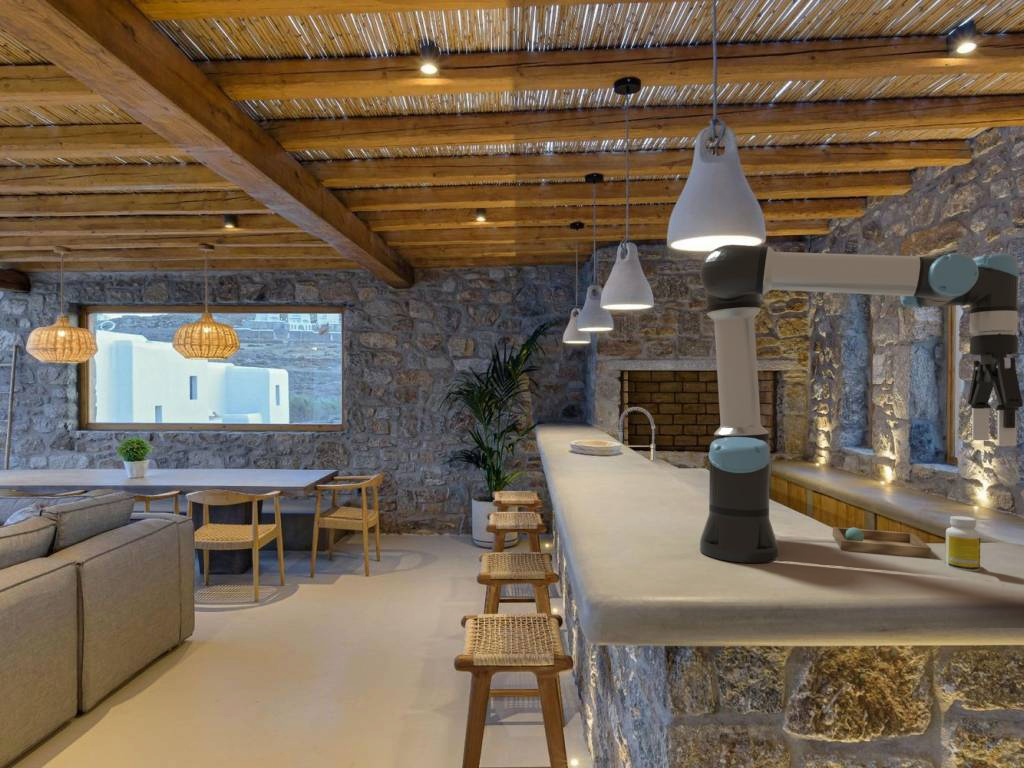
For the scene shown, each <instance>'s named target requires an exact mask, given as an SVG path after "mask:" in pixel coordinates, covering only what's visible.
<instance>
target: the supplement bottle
mask: <svg viewBox="0 0 1024 768" xmlns="http://www.w3.org/2000/svg"><path fill="white" fill-rule="evenodd" d="M949 518H950V520H949V521H950V525H951V527H948V528H946V530H945V555H944V556H945V561H944V562H945V563H944V564H945V566H947V567H949V568H951V569H956V570H960V571H970V572H972V571H974V572H975V571H980V570H981V533H980V532H979V531H978V530H976V529H975V528H976V526H977V519H976V518H974V517H970V516H969V517H968V516H961V515H954V516H952V515H951V516H950V517H949Z"/></svg>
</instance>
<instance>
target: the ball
mask: <svg viewBox="0 0 1024 768" xmlns="http://www.w3.org/2000/svg"><path fill="white" fill-rule="evenodd" d="M848 528H849V529H848V530H847V531H846V538H847V540H851V541H863V539H864V534H863V532H862V531H861V530H860V529H861V528H858V527H854V526H853V527H848Z"/></svg>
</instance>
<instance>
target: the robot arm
mask: <svg viewBox="0 0 1024 768" xmlns="http://www.w3.org/2000/svg"><path fill="white" fill-rule="evenodd" d="M702 261H703V262H702V263H701V266H700V270H699V276H700V281H701V285H702V286H703V289H704V290H705V303H706V304H705V305H706V306H705V307H706V316H707V317H709V319H711V320H712V321H713V323H714V324H713V325H714V337H715V355H716V371H717V372H716V373H717V388H718V404H719V405H718V406H719V419H720V420H719V423H720V426H719V428H717V429H716V431H715V432H713V435H714V436H713V437H714V440H713V441H712V442H711V443H710V445H709V453H708V460H709V487H708V488H709V489H708V490H709V493H708V494H709V497H708V500H709V501H708V503H709V509H708V510H709V512H708V516H707V519H706V522H705V526H704V528H703V531H702V534H701V536H700V540H699V542H700V543H699V551H700V552H701V553H702V554H704V555H705V556H708V557H710V558H714V559H718V560H720V561H721V560H722V561H727V562H733V563H735V562H736V563H747V564H748V563H749V564H750V563H751V564H756V563H757V564H761V563H769V562H773V561H776V560H777V559H776V558H778V556H779V545H778V542H777V539H776V535H775V533H774V529H773V527H772V523H771V520H770V477H771V475H772V469H773V461H772V457H771V450H770V449H771V448H770V435H769V431H768V430H767V429H766V428H765V427H764V426H763V425H762V423H761V405H760V393H759V375H758V359H757V344H756V328H755V327H756V326H755V325H756V324H755V318H756V317H757V315H759V313H760V312H761V295H765V294H767V293H768V292H770V291H772V290H773V291H789V292H790V291H791V292H792V291H793V292H811V293H812V292H813V293H814V292H815V293H835V294H836V293H837V294H853V295H854V294H857V295H859V294H860V295H875V296H876V295H877V296H878V295H879V296H880V295H881V296H899V298H900V300H899V301H900V303H901V305H902V306H903V307H905V308H918V309H922V308H927V307H928V308H930V307H933V308H934V307H950V306H951V307H953V306H954V307H955V306H963V307H964V306H969V333H970V334H973V335H972V336H971V337H970V338H969V354H971V355H973V356H980V360H974V361H973V371H972V377H971V382H970V387H969V388H970V389H969V394H968V399H967V404H968V405H970V407H971V414H972V415H971V440H972V441H989V440H990V409H991V408H992V406H991V404H990V403H989V402H990V397H991V395H992V392H993V390H994V393H995V396H996V401H997V402H998V404H997V405H996V407H995V410H996V411H997V446H1004V447H1006V446H1008V447H1017V445H1018V443H1017V439H1018V438H1017V437H1018V435H1017V432H1018V431H1017V429H1018V428H1017V422H1018V421H1017V419H1018V418H1017V417H1018V416H1017V414H1018V410H1019V408H1022V407H1023V406H1024V405H1023V404H1024V403H1023V398H1022V393H1021V390H1020V389H1021V388H1020V384H1019V380H1018V379H1019V378H1018V374H1017V369H1016V358H1015V357H1008V356H1007V355H1015V354H1017V353H1018V351H1019V348H1018V346H1019V344H1018V343H1019V337H1018V336H1017V334H1015V333H1016V332H1018V326H1019V325H1018V323H1020V321H1021V317H1020V316H1018V314H1019V313H1018V312H1019V311H1018V307H1019V306H1018V298H1019V297H1018V296H1019V279H1020V277H1019V266H1018V259H1017V258H1016V256H1014V255H1013V254H1008V253H994V254H993V253H991V254H988V255H987V254H985V255H984V254H983V255H980V256H976V257H975V256H974V257H973V258H972V257H971V256H968V255H966V254H963V253H957V252H953V253H948V254H943V255H942V256H916V255H914V256H913V255H891V254H889V255H885V254H884V255H882V254H855V253H853V254H852V253H824V252H823V253H822V252H821V253H820V252H819V253H817V252H792V251H791V252H790V251H789V252H787V251H786V252H785V251H775V250H774V249H773V248H772V247H771V246H767V245H766V246H760V245H747V244H745V245H744V244H726V245H721V246H719V247H717V248H715V249H713V250H712V251H710V252H708V254H707V255H706V256H705V257H704V259H703V260H702Z"/></svg>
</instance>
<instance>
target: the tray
mask: <svg viewBox="0 0 1024 768" xmlns="http://www.w3.org/2000/svg"><path fill="white" fill-rule="evenodd" d="M849 528H850V527H834V526H832V537H833V539H834V540H835V543H837V546H838V548H839V549H840V551H844V552H845V551H846V552H847V551H849V552H859V553H872V554H880V555H893V556H894V555H896V556H903V557H904V556H905V557H917V558H927V559H932V547H930V545H928V544H927V543H925V542H924V541H923V540H922V539H921V538H920V537H919V536H918V535H916V534H915V532H912V533H911V532H902V531H889V530H875V529H873V530H872V529H862V528H859V529H860V530H861V531H862V532H863V534H864V539H863V541H851V540H847V538H846V531H847V530H848V529H849Z"/></svg>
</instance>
